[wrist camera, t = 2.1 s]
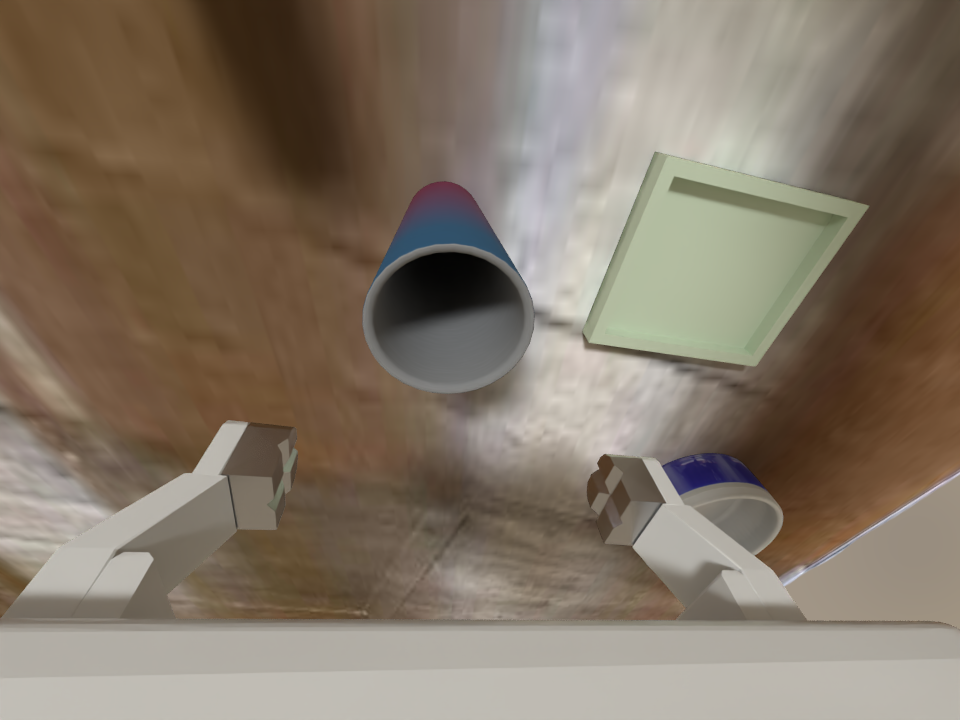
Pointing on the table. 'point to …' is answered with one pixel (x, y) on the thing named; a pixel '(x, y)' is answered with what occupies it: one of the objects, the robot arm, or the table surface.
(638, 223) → the tray
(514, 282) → the cup
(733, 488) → the dog bowl
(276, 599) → the table surface
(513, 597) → the table surface
